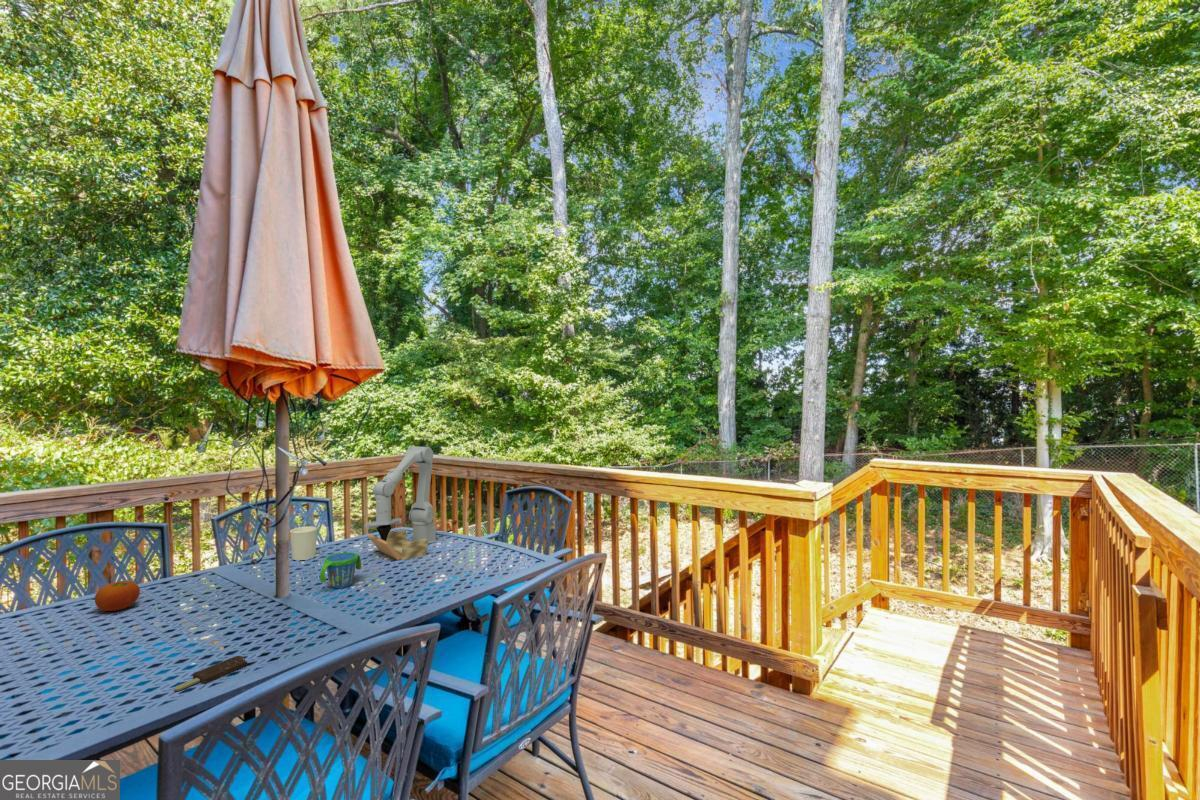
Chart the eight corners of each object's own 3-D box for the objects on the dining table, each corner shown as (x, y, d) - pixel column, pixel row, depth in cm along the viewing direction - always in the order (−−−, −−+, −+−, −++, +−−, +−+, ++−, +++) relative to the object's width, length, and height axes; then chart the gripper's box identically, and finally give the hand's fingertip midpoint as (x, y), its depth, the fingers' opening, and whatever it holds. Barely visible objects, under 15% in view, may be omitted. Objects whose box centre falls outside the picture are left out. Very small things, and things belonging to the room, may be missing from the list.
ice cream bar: (180, 696, 118) (250, 666, 131) (180, 689, 118) (250, 659, 131) (168, 690, 120) (238, 660, 134) (168, 683, 120) (238, 654, 134)
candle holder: (314, 553, 222) (314, 525, 222) (319, 559, 215) (319, 529, 215) (287, 557, 216) (288, 528, 216) (292, 563, 208) (292, 533, 208)
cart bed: (404, 545, 235) (405, 529, 235) (427, 555, 220) (427, 539, 220) (381, 550, 228) (381, 534, 228) (403, 561, 213) (403, 543, 213)
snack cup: (329, 595, 177) (329, 565, 176) (311, 589, 182) (311, 560, 182) (370, 581, 190) (370, 553, 190) (351, 576, 195) (352, 548, 195)
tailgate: (381, 548, 226) (370, 533, 223) (400, 558, 214) (388, 542, 210) (379, 550, 225) (367, 535, 222) (398, 560, 213) (385, 544, 209)
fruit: (94, 608, 164) (94, 582, 164) (138, 599, 172) (138, 575, 172) (95, 618, 157) (95, 592, 157) (141, 609, 164) (141, 583, 164)
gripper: (369, 515, 209) (369, 549, 210) (404, 509, 220) (405, 541, 220) (362, 512, 214) (362, 545, 215) (397, 506, 225) (397, 538, 225)
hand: (383, 543), depth 218 cm, fingers closed, pressing on tailgate
